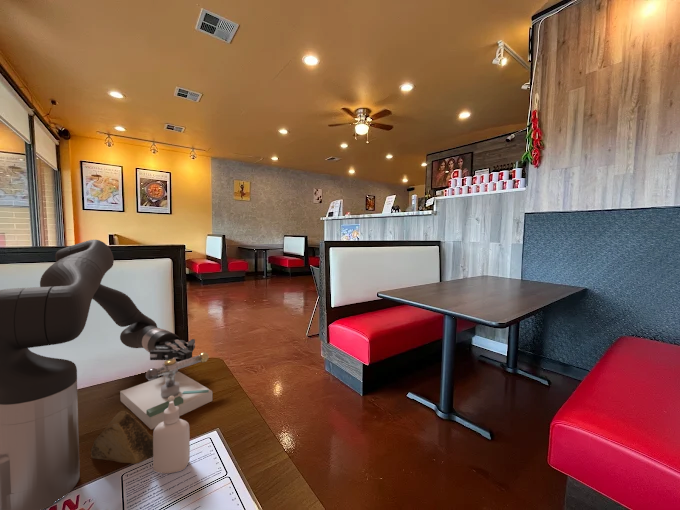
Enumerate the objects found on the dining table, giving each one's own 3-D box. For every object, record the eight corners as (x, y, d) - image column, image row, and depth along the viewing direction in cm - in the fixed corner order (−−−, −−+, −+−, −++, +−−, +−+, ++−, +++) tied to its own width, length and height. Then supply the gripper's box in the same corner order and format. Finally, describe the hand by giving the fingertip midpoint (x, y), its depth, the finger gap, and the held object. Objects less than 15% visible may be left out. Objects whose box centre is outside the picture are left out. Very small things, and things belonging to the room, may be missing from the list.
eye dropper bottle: (172, 453, 55) (172, 392, 54) (193, 463, 53) (193, 399, 52) (149, 470, 51) (148, 404, 50) (171, 481, 49) (170, 413, 48)
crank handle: (149, 396, 66) (148, 370, 65) (143, 391, 68) (143, 366, 67) (211, 372, 78) (211, 350, 78) (204, 369, 80) (204, 348, 80)
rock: (68, 454, 51) (90, 470, 46) (100, 402, 56) (123, 412, 51) (126, 459, 58) (151, 474, 53) (151, 413, 63) (176, 423, 58)
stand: (151, 429, 62) (150, 407, 61) (120, 400, 72) (120, 381, 72) (212, 400, 73) (212, 382, 73) (178, 379, 83) (178, 363, 83)
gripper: (135, 336, 83) (162, 350, 73) (182, 325, 93) (211, 336, 83) (135, 361, 83) (162, 379, 73) (182, 348, 94) (211, 361, 84)
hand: (188, 356), depth 78 cm, fingers closed
